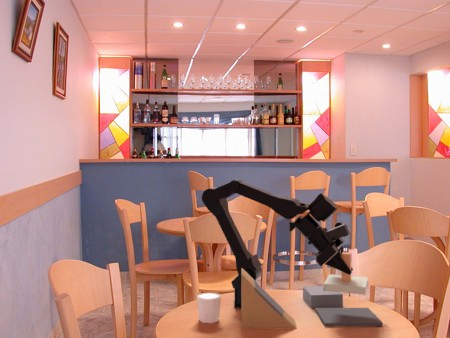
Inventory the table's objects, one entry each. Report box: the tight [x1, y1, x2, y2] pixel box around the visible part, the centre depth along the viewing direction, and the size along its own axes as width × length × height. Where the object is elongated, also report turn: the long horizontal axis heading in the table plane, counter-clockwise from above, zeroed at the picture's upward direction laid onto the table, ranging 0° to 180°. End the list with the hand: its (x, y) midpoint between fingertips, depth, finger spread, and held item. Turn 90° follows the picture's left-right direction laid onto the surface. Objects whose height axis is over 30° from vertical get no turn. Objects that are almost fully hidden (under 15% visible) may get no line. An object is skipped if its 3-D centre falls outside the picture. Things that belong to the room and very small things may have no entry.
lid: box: [323, 251, 369, 296], centre depth 142 cm, size 11×11×10 cm
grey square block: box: [302, 285, 344, 309], centre depth 156 cm, size 10×10×4 cm
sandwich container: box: [240, 268, 297, 330], centre depth 137 cm, size 9×15×15 cm, turn 88°
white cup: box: [196, 292, 222, 324], centre depth 140 cm, size 7×7×7 cm
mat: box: [314, 307, 384, 328], centre depth 141 cm, size 16×13×1 cm
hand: (351, 272), depth 141 cm, fingers closed on lid, 3 cm apart
